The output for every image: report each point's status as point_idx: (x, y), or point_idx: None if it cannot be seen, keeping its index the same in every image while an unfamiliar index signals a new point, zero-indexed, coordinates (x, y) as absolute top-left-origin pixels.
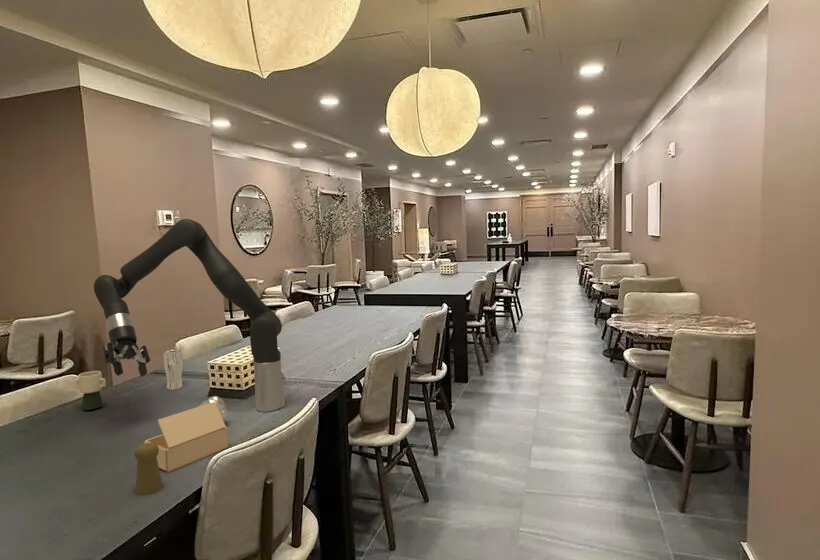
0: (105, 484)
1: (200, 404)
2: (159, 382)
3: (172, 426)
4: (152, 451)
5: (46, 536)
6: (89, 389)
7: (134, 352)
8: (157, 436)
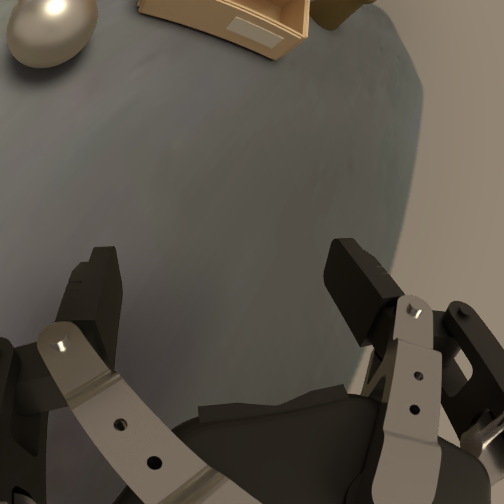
0: (346, 79)
1: (66, 16)
2: None
3: None
4: None
5: (406, 72)
6: None
7: (197, 462)
8: (278, 24)
